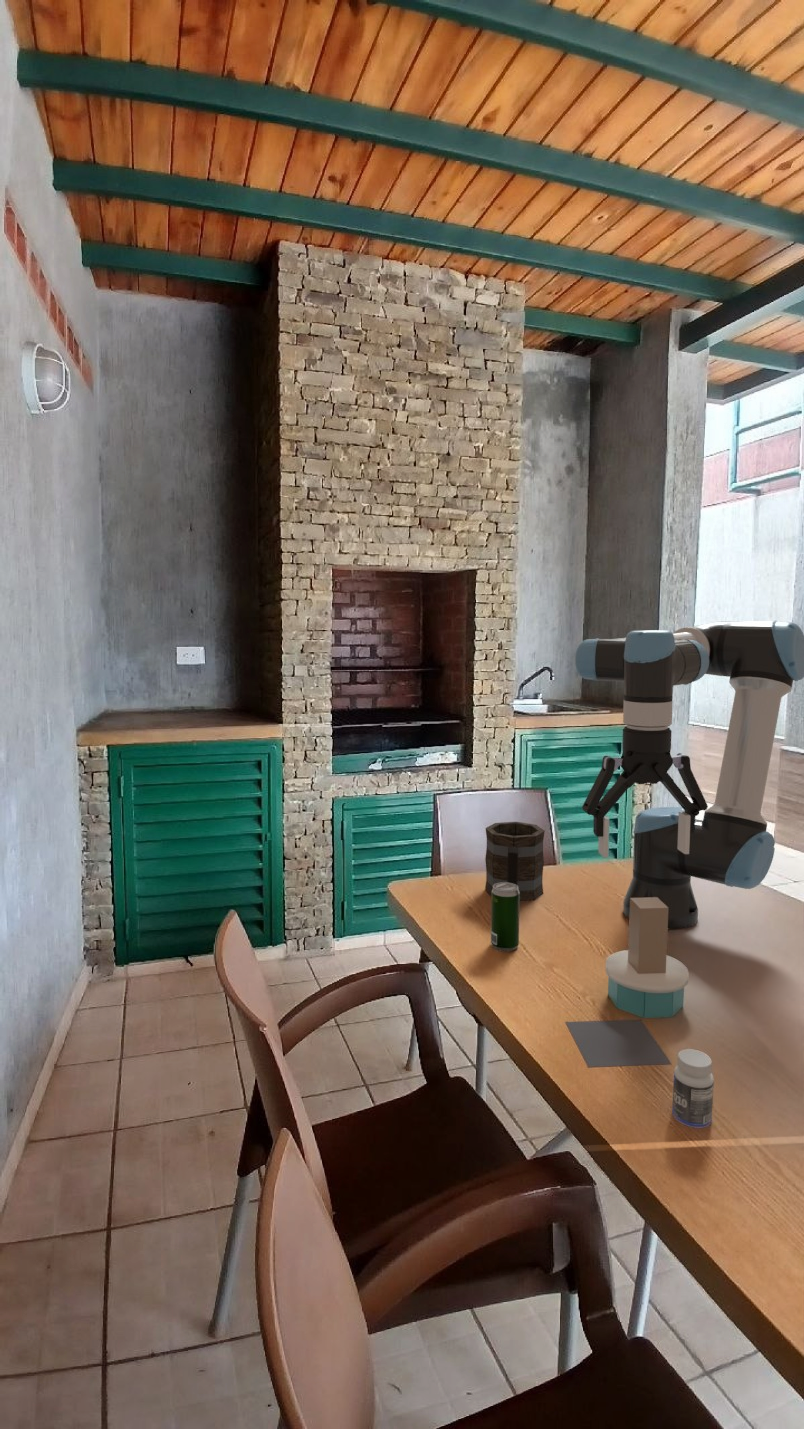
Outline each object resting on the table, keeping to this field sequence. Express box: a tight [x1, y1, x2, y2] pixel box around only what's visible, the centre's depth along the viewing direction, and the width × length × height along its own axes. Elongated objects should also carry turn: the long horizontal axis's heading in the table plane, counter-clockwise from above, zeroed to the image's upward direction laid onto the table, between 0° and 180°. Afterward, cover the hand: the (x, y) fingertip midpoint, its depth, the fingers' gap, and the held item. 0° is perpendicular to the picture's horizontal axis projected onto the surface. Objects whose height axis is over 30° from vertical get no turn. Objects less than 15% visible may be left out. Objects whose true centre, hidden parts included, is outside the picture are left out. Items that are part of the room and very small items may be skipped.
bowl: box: [607, 977, 685, 1019], centre depth 125 cm, size 11×11×5 cm
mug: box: [484, 821, 546, 903], centre depth 172 cm, size 20×14×15 cm
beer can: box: [490, 882, 520, 952], centre depth 146 cm, size 5×5×12 cm
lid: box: [605, 897, 690, 993], centre depth 124 cm, size 13×13×12 cm
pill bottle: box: [671, 1048, 715, 1129], centre depth 95 cm, size 5×5×8 cm
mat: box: [565, 1018, 673, 1068], centre depth 113 cm, size 12×12×1 cm
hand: (643, 853), depth 125 cm, fingers open, 13 cm apart
